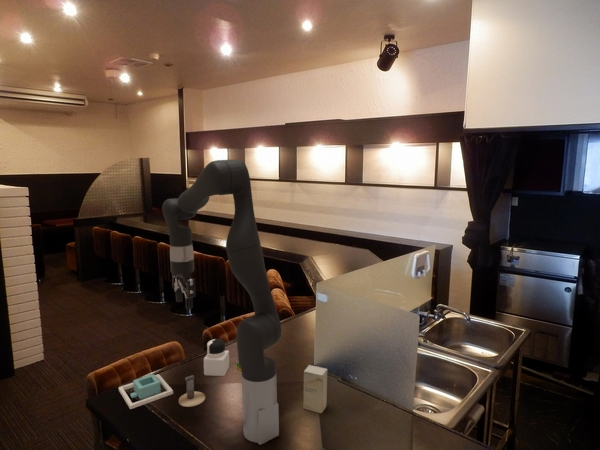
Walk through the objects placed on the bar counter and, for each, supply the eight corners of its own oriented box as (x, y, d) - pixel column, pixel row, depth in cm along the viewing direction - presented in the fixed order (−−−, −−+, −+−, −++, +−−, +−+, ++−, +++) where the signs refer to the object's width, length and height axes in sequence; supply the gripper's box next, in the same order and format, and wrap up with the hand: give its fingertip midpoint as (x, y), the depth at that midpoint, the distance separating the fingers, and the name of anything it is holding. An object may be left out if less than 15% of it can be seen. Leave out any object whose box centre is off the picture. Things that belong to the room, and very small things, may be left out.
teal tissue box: (134, 403, 121) (133, 391, 120) (128, 394, 126) (127, 382, 125) (160, 393, 126) (160, 382, 125) (154, 385, 131) (153, 373, 130)
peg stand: (209, 403, 122) (208, 379, 120) (184, 413, 117) (183, 388, 116) (198, 392, 128) (197, 368, 127) (174, 401, 123) (173, 377, 122)
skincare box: (302, 409, 118) (302, 371, 117) (308, 401, 123) (308, 364, 121) (322, 414, 116) (322, 375, 114) (327, 405, 120) (327, 368, 118)
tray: (173, 397, 125) (173, 390, 125) (130, 412, 117) (129, 406, 117) (159, 380, 135) (158, 374, 135) (118, 393, 127) (118, 387, 127)
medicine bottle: (229, 368, 143) (228, 337, 141) (224, 379, 136) (222, 346, 134) (210, 367, 143) (209, 336, 142) (203, 378, 136) (202, 345, 135)
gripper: (163, 256, 134) (165, 302, 136) (179, 264, 123) (181, 313, 125) (184, 253, 139) (186, 297, 141) (201, 260, 128) (203, 308, 130)
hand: (184, 305), depth 133 cm, fingers open, 8 cm apart
